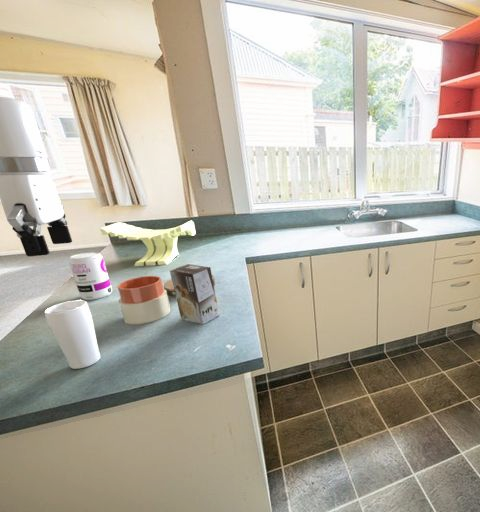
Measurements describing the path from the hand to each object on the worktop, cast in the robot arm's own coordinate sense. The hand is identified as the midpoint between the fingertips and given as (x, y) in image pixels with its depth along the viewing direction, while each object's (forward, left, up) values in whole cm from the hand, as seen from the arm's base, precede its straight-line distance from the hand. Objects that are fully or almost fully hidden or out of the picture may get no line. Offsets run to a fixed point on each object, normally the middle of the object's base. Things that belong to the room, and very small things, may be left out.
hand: (51, 248), depth 64 cm
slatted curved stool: (-2, +80, -28) cm, 85 cm away
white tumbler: (0, -3, -28) cm, 28 cm away
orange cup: (+7, +19, -28) cm, 35 cm away
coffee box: (+22, +11, -28) cm, 37 cm away
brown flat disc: (+17, +37, -28) cm, 49 cm away
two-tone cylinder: (+7, +19, -28) cm, 35 cm away
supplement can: (-13, +42, -28) cm, 52 cm away
